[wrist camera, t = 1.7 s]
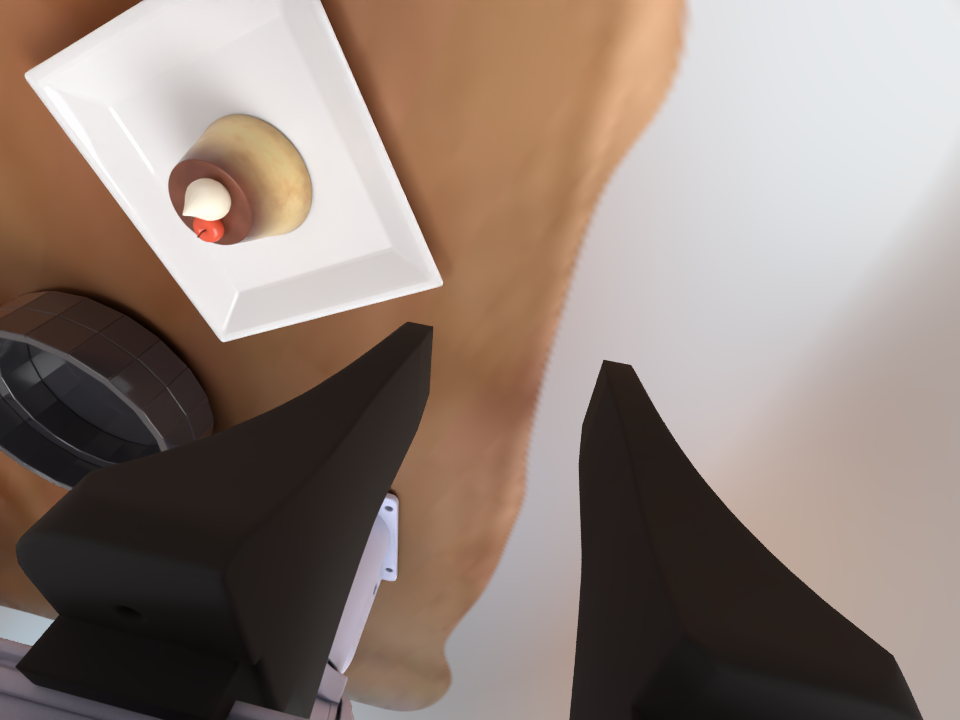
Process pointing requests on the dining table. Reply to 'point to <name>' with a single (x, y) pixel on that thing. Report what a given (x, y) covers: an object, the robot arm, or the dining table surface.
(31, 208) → the dining table surface
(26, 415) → the pan
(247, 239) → the dessert
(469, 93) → the dining table surface
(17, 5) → the dining table surface
